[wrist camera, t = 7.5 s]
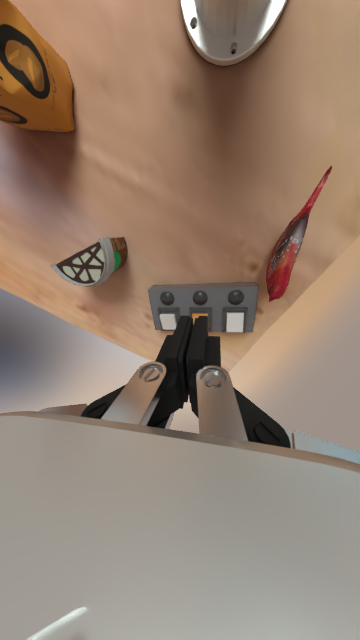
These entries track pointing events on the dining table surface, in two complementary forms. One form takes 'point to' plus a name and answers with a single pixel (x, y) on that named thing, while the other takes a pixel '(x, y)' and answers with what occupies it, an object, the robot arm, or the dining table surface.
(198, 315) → the middle rocker
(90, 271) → the food container
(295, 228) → the decorative bird figurine
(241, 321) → the rocker
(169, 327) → the rocker
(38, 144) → the dining table surface
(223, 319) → the rocker switch panel
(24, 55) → the coffee package
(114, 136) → the dining table surface
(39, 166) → the dining table surface
